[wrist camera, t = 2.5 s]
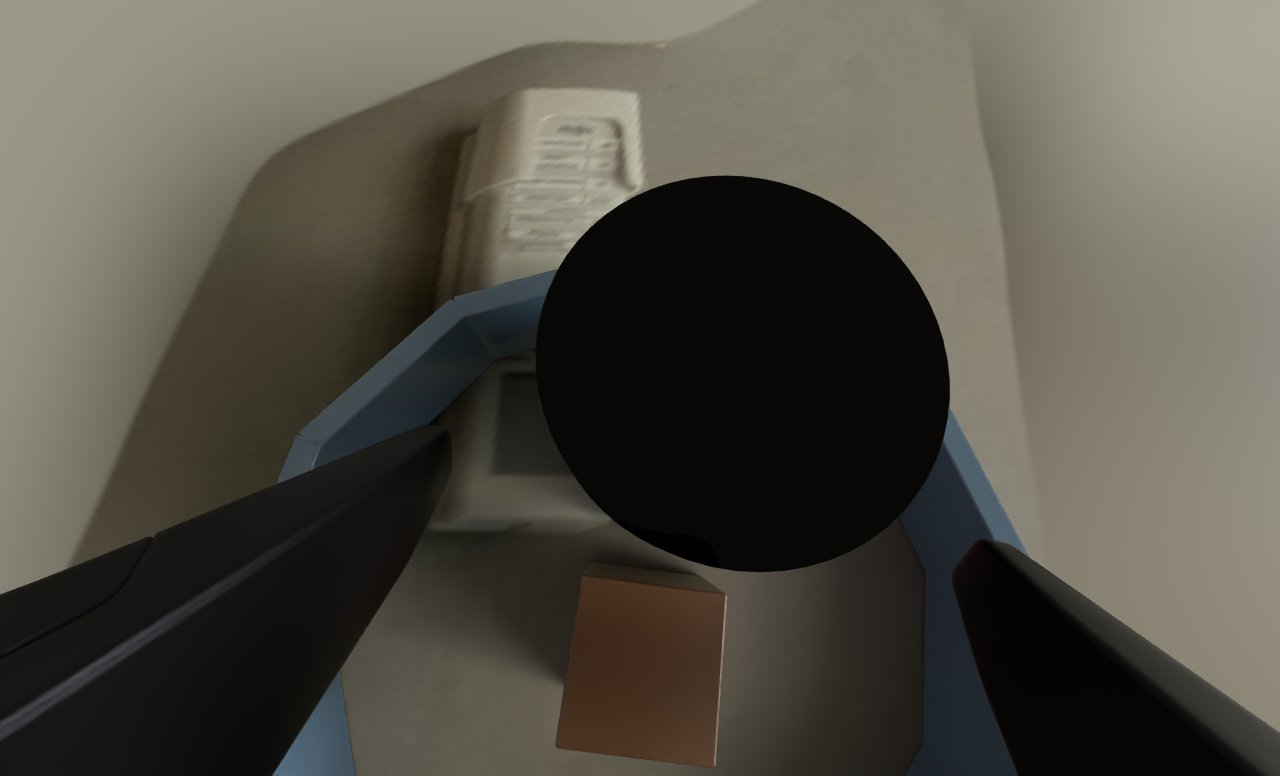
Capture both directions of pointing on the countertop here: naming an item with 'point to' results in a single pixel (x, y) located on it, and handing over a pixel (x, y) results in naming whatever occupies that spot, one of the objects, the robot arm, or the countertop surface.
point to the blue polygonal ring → (507, 324)
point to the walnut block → (644, 666)
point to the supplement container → (742, 374)
